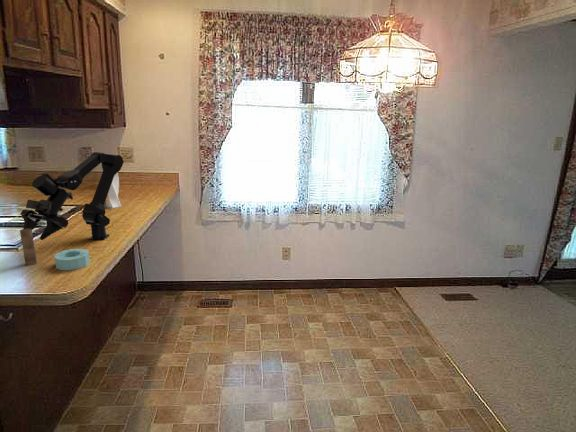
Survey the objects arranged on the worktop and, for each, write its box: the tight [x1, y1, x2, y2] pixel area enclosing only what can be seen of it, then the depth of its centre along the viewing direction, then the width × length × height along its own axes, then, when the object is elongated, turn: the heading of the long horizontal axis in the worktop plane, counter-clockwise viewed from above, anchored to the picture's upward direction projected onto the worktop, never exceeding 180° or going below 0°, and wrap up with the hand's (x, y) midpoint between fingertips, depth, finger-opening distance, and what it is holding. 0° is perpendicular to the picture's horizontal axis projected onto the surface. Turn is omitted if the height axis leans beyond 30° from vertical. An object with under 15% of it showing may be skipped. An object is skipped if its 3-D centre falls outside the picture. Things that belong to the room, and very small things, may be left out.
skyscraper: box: [104, 172, 122, 210], centre depth 221 cm, size 8×8×28 cm
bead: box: [54, 248, 91, 271], centre depth 145 cm, size 11×11×4 cm
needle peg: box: [19, 228, 38, 266], centre depth 143 cm, size 4×4×13 cm
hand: (31, 237), depth 144 cm, fingers open, 9 cm apart
